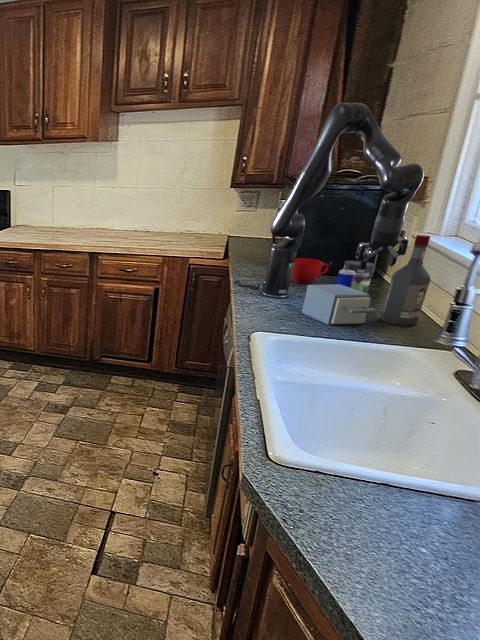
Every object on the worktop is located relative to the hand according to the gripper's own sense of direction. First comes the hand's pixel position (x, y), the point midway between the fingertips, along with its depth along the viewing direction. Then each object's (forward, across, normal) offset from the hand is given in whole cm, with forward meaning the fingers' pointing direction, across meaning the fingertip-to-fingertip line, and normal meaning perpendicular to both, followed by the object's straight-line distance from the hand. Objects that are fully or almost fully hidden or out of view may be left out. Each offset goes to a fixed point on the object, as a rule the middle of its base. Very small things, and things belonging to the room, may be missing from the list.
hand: (376, 267), depth 182 cm
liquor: (+18, -7, +9) cm, 22 cm away
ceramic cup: (+39, +4, -45) cm, 60 cm away
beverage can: (+21, +7, -3) cm, 22 cm away
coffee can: (+32, -6, -23) cm, 39 cm away
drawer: (+12, +13, +11) cm, 21 cm away
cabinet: (+15, +14, +8) cm, 22 cm away
